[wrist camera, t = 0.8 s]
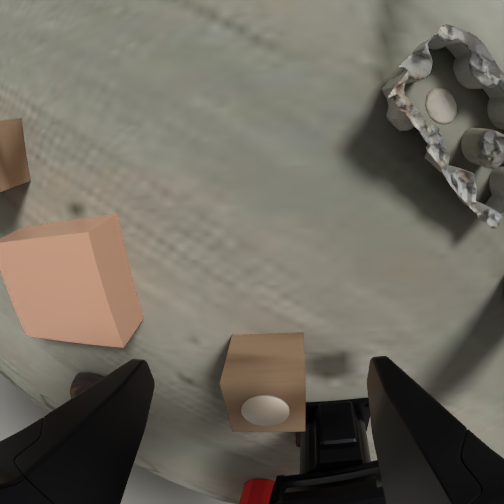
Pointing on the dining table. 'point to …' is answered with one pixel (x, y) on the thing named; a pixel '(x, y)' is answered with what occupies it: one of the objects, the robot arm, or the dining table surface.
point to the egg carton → (444, 111)
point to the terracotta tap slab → (72, 281)
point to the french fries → (257, 491)
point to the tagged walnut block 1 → (12, 155)
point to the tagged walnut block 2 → (265, 383)
